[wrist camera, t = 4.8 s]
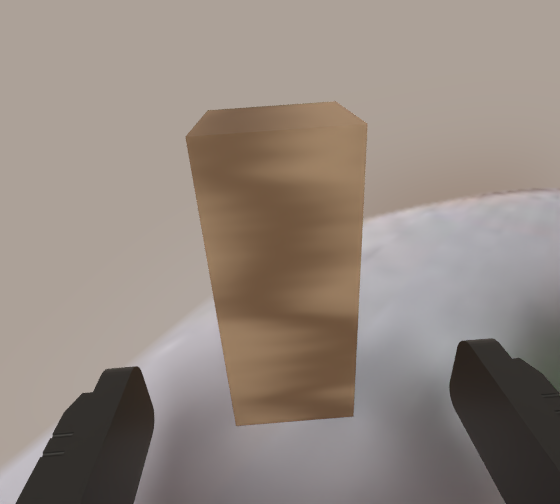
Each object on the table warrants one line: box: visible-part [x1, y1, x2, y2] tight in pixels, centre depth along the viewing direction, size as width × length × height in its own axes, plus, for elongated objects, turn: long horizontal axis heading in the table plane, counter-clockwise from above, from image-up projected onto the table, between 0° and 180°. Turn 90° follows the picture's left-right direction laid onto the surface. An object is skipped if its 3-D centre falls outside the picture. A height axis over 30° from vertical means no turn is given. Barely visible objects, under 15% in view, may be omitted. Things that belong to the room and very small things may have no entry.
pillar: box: [186, 102, 367, 426], centre depth 15 cm, size 5×5×12 cm
